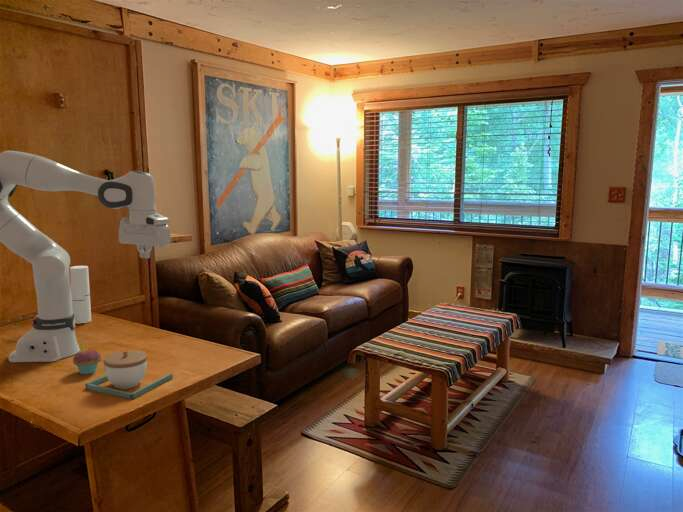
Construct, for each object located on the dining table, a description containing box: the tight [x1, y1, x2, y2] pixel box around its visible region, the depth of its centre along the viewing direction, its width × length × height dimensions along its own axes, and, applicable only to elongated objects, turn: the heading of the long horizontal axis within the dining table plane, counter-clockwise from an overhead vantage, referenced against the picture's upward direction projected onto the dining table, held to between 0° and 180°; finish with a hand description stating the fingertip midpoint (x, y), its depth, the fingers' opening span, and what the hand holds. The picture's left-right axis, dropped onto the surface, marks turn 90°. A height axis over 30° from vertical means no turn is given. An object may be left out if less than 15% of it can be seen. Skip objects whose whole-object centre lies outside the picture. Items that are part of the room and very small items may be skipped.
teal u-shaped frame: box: [84, 373, 174, 400], centre depth 164 cm, size 18×19×2 cm
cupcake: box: [72, 339, 102, 375], centre depth 172 cm, size 9×8×12 cm
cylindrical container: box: [69, 265, 92, 323], centre depth 226 cm, size 7×7×25 cm
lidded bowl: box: [103, 350, 148, 390], centre depth 162 cm, size 13×13×11 cm
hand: (144, 257), depth 179 cm, fingers closed
